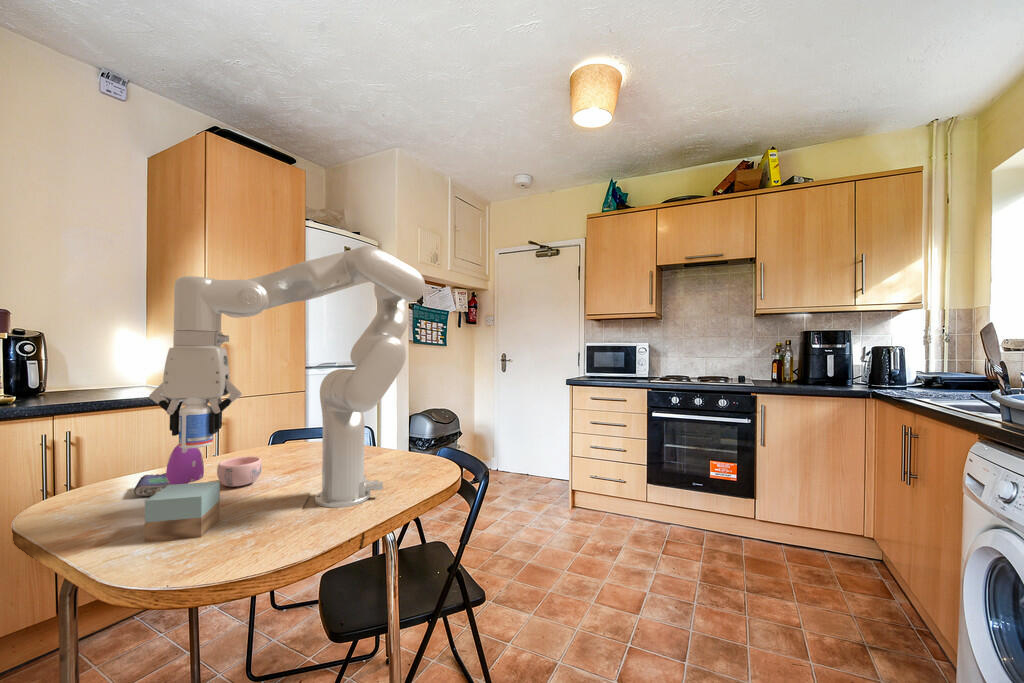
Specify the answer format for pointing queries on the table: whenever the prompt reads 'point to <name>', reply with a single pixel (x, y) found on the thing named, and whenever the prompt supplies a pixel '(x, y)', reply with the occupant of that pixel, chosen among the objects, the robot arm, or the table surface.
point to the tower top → (182, 501)
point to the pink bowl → (239, 471)
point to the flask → (151, 485)
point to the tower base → (182, 526)
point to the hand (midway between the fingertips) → (196, 432)
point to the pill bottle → (195, 423)
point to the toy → (184, 466)
